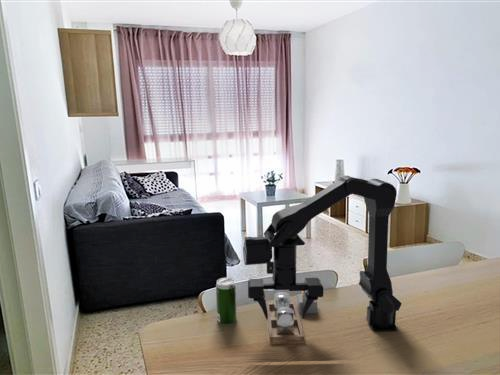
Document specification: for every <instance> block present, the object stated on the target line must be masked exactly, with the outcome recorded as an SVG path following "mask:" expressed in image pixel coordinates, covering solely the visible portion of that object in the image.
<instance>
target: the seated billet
mask: <svg viewBox="0 0 500 375" xmlns="http://www.w3.org/2000/svg"><path fill="white" fill-rule="evenodd" d="M273 295H274V297H273V298H274V299H273V300H274V301H273V303H274V316H275V317H277V309H278V308H281V307H289V308H290V303H291V294H290V293H288V292H287V291H277V292H275V293H274V294H273Z"/></svg>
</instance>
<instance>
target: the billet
mask: <svg viewBox="0 0 500 375" xmlns="http://www.w3.org/2000/svg"><path fill="white" fill-rule="evenodd" d="M293 333H294V310H293V309H291V308H289V307H281V308H278V309H277V334H278V335H293Z"/></svg>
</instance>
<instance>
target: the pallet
mask: <svg viewBox="0 0 500 375" xmlns="http://www.w3.org/2000/svg"><path fill="white" fill-rule="evenodd" d="M266 305H267V312H268V319H266V327H267V328H266V329H267V339H268V344H269V345H273V344H275V345H276V344H279V345H280V344H306V341H305V335H304V329H303V327H302V323H301V319H300V314H299V310H298V306H297V302H295V301H292V302H290V308H291V309H293V310H294V333H293V335H278V334H277V317H275V316H274V302H266Z"/></svg>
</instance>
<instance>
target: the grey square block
mask: <svg viewBox="0 0 500 375" xmlns="http://www.w3.org/2000/svg"><path fill="white" fill-rule="evenodd" d="M296 297H297V299H296V301H297V302H296V306H297V310H298V314H299V315H300V314H301V310H302V302H303V299H302V293H297V296H296ZM306 314H318V300H314V301H313V303H312V304H311V306H310V307H309V309H308V311H307V313H306Z"/></svg>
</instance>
